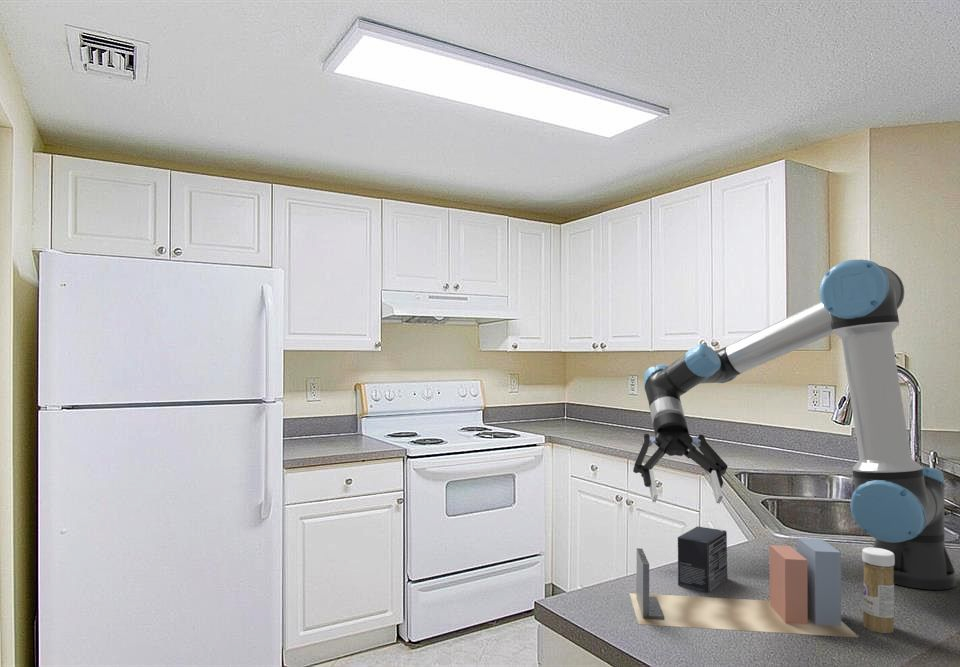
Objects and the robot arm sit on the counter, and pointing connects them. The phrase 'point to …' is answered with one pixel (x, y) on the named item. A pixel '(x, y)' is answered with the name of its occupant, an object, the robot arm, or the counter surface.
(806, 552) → the book
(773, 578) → the book
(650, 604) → the bookend
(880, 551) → the sprinkles bottle
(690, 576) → the small box
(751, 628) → the shelf board
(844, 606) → the counter surface
